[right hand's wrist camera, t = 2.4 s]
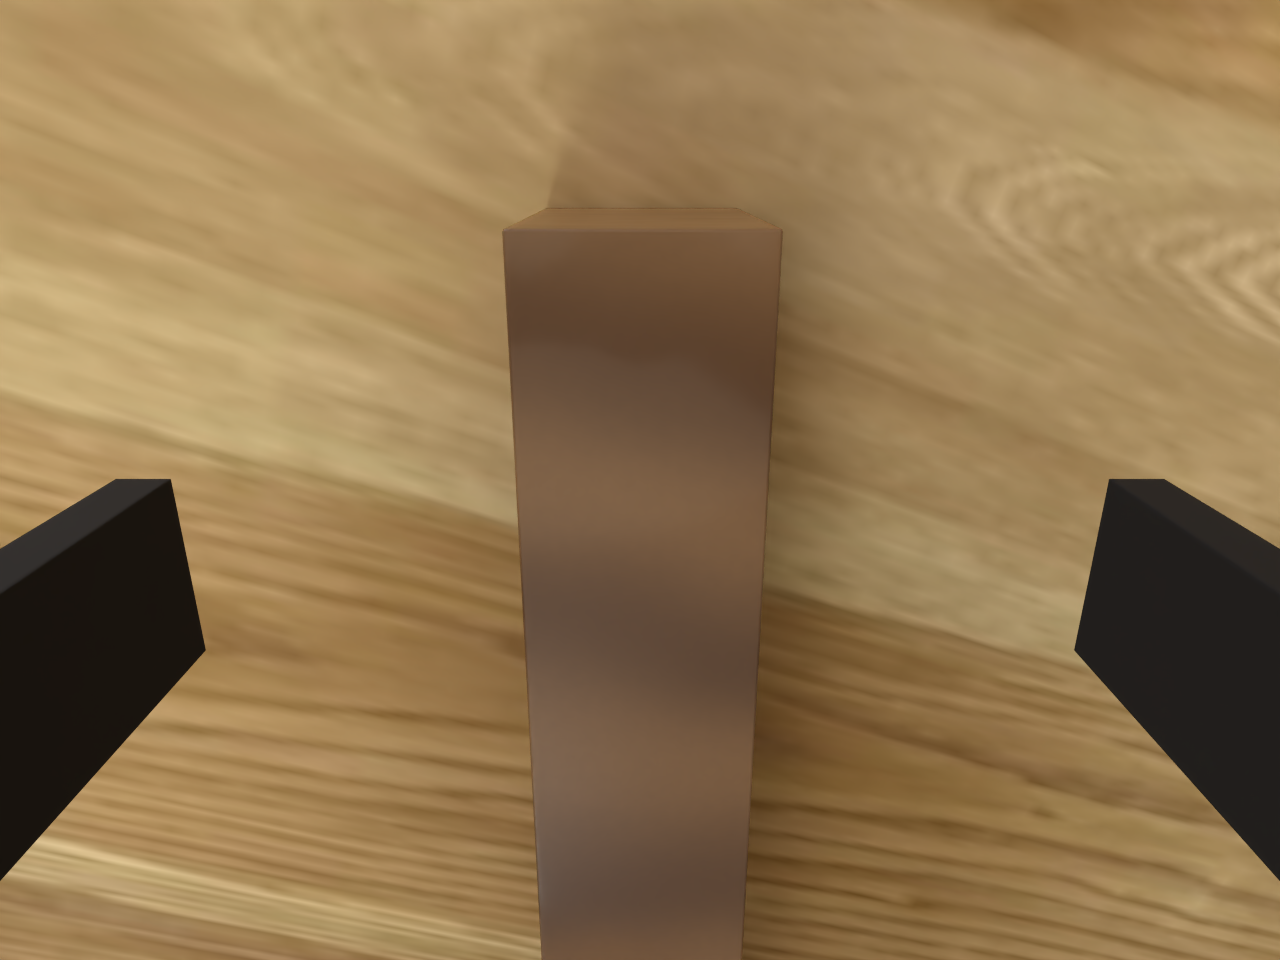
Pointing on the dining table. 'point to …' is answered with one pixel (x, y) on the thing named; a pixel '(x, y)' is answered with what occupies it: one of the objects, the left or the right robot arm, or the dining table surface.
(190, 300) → the dining table surface
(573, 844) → the beam
